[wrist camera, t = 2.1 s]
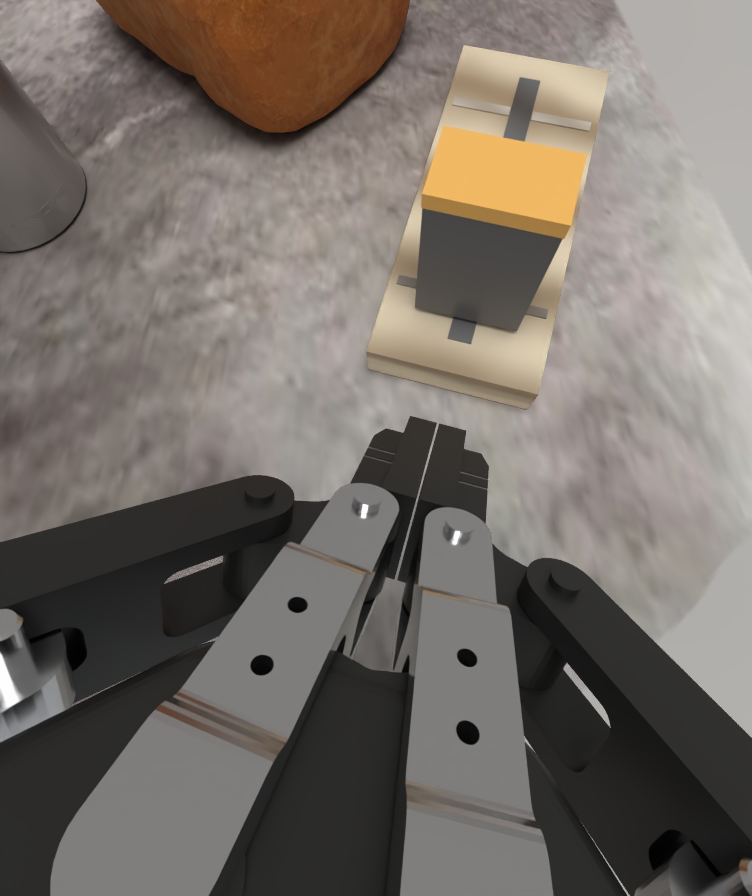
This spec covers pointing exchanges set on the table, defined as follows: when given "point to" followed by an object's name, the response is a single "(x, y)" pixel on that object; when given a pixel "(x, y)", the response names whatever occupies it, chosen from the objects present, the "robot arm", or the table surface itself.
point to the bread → (269, 50)
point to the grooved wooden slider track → (524, 352)
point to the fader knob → (492, 224)
